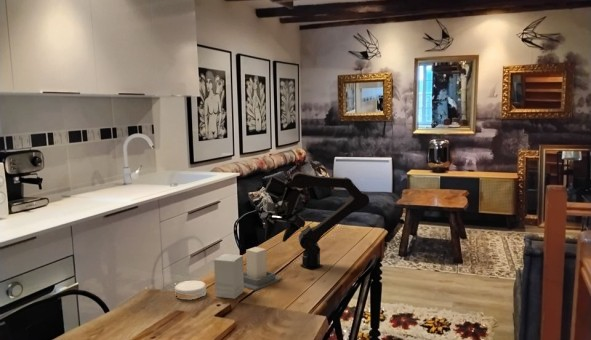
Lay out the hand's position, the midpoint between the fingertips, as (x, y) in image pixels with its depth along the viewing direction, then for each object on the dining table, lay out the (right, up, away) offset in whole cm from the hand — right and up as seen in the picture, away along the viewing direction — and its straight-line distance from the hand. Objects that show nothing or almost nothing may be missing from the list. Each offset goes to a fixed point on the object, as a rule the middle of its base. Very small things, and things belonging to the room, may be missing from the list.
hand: (274, 240), depth 175 cm
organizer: (-6, -14, -5) cm, 16 cm away
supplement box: (-14, -15, -18) cm, 27 cm away
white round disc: (-27, -16, -18) cm, 36 cm away
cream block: (-6, -13, -6) cm, 16 cm away
